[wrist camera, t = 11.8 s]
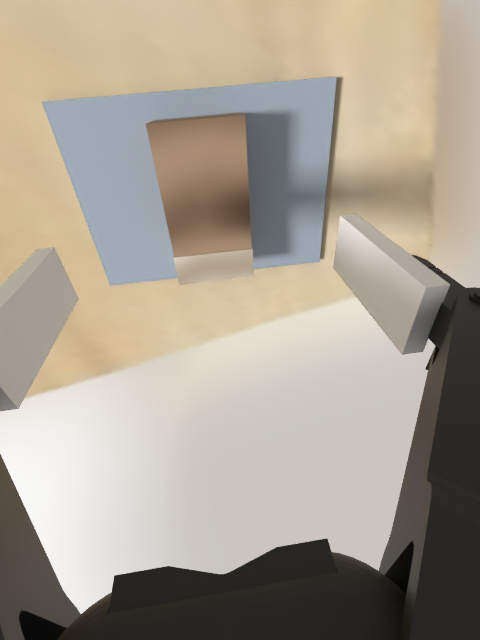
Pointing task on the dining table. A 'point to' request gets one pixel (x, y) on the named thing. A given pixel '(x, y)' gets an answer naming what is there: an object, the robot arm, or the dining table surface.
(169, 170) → the brown block
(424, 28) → the dining table surface
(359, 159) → the dining table surface
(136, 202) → the slate mat
